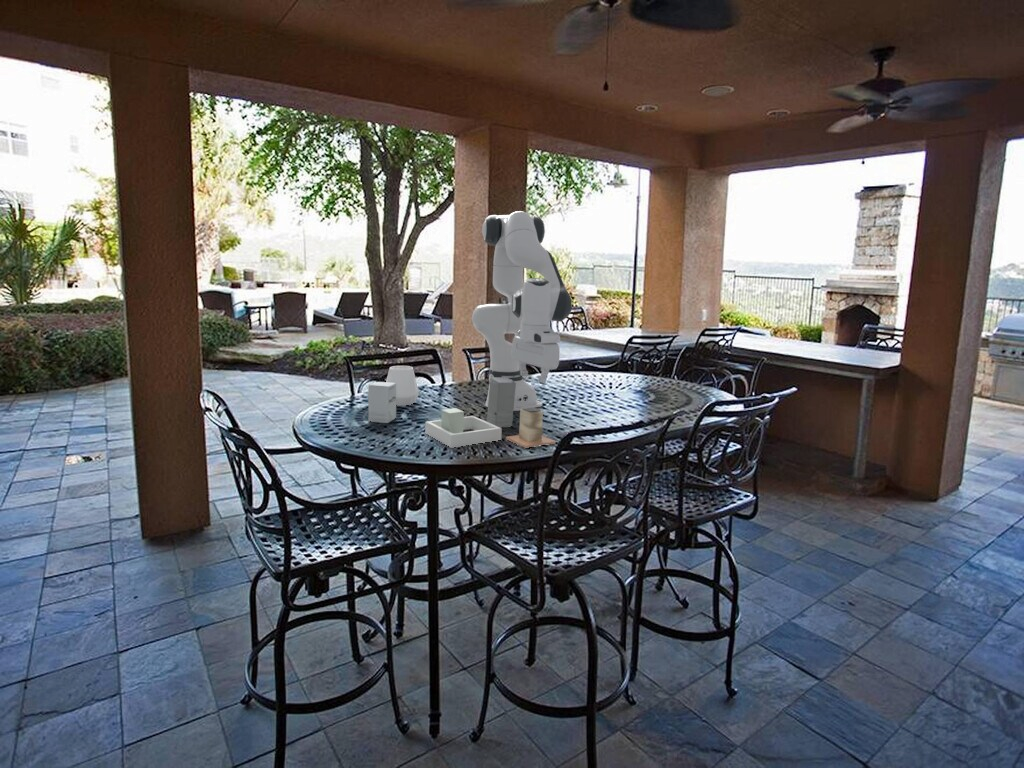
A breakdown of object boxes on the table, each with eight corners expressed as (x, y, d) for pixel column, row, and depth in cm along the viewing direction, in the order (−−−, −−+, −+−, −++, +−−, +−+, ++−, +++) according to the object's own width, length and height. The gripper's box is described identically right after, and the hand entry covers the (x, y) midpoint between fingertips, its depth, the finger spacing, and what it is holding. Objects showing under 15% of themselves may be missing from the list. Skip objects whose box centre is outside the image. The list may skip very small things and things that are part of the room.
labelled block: (532, 435, 195) (533, 407, 193) (541, 439, 191) (543, 410, 189) (519, 437, 192) (520, 408, 191) (528, 441, 188) (529, 412, 186)
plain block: (455, 435, 196) (455, 408, 194) (463, 439, 192) (463, 411, 190) (441, 437, 193) (441, 409, 191) (448, 442, 189) (449, 413, 187)
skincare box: (486, 422, 214) (487, 377, 211) (505, 421, 217) (506, 376, 214) (495, 428, 206) (496, 381, 203) (515, 427, 209) (516, 380, 206)
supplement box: (388, 423, 208) (388, 386, 205) (367, 421, 209) (367, 384, 207) (396, 418, 215) (396, 382, 213) (376, 416, 216) (376, 381, 214)
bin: (473, 427, 206) (473, 415, 206) (501, 440, 192) (501, 428, 191) (425, 433, 197) (425, 421, 196) (451, 448, 183) (451, 435, 182)
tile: (534, 435, 199) (534, 432, 199) (555, 444, 190) (555, 441, 190) (505, 439, 193) (505, 436, 193) (525, 449, 184) (526, 445, 184)
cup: (405, 398, 247) (405, 363, 245) (426, 404, 238) (426, 368, 236) (376, 402, 238) (376, 366, 235) (397, 409, 229) (397, 371, 226)
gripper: (507, 329, 192) (505, 373, 195) (546, 338, 175) (544, 386, 178) (523, 329, 196) (522, 372, 198) (564, 337, 179) (561, 384, 182)
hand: (532, 379), depth 188 cm, fingers open, 8 cm apart
